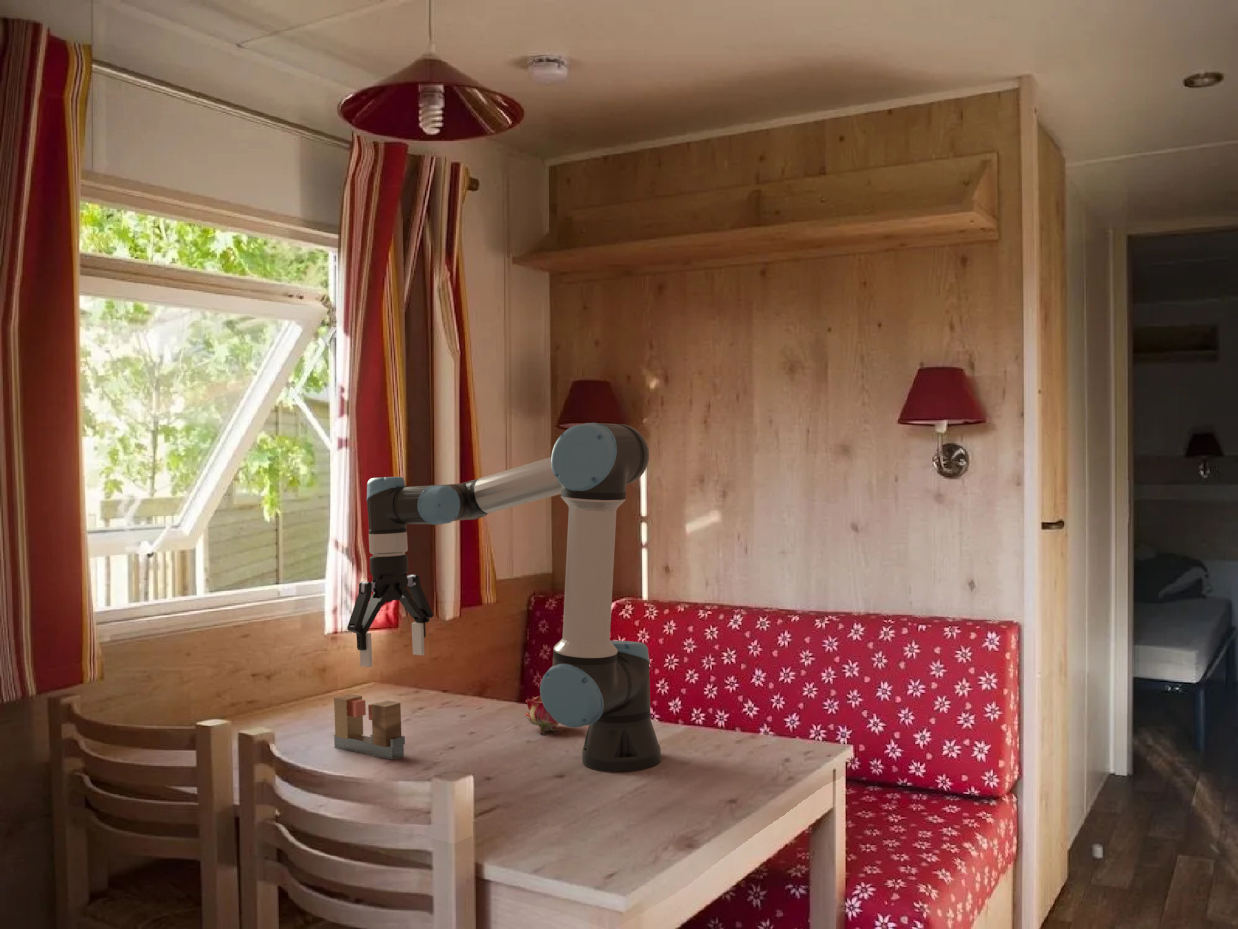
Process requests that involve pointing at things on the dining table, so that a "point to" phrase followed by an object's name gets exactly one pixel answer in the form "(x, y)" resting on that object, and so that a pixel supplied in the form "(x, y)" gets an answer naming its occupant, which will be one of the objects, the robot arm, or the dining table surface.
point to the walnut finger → (385, 721)
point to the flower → (540, 715)
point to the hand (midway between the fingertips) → (393, 660)
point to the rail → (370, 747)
